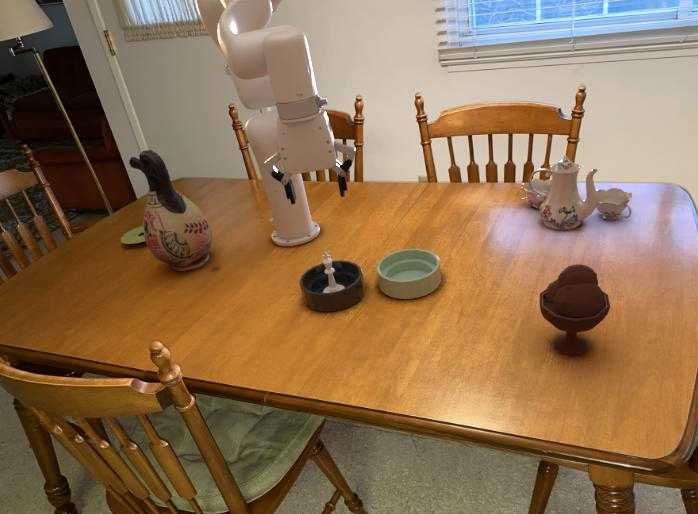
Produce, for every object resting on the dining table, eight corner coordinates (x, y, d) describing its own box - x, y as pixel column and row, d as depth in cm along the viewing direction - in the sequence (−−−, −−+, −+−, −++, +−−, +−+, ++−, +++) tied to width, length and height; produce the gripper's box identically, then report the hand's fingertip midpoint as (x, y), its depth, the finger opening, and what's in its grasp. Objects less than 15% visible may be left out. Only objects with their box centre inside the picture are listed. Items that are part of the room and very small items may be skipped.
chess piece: (342, 299, 115) (333, 258, 109) (320, 299, 116) (310, 258, 110) (348, 286, 119) (340, 246, 113) (326, 286, 120) (317, 246, 114)
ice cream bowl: (528, 332, 98) (529, 260, 90) (590, 322, 98) (597, 249, 90) (548, 371, 89) (552, 295, 81) (616, 360, 89) (626, 282, 81)
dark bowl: (291, 300, 118) (286, 282, 115) (336, 272, 125) (332, 254, 123) (333, 320, 110) (328, 301, 107) (378, 288, 117) (375, 270, 115)
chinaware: (636, 215, 131) (647, 145, 123) (620, 241, 119) (630, 165, 111) (522, 202, 145) (525, 138, 137) (498, 224, 133) (499, 155, 125)
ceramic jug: (147, 268, 139) (97, 154, 123) (199, 242, 148) (159, 132, 131) (181, 287, 129) (131, 165, 112) (235, 258, 138) (196, 140, 121)
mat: (131, 253, 148) (128, 247, 147) (117, 242, 156) (114, 236, 154) (170, 237, 154) (168, 230, 152) (155, 226, 161) (152, 220, 160)
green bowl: (366, 288, 118) (363, 270, 115) (407, 260, 125) (404, 243, 123) (413, 307, 110) (411, 288, 107) (453, 276, 117) (452, 258, 114)
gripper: (347, 95, 100) (362, 184, 109) (254, 110, 101) (277, 197, 110) (346, 105, 94) (362, 199, 103) (247, 121, 94) (272, 212, 104)
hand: (318, 198), depth 107 cm, fingers open, 9 cm apart
